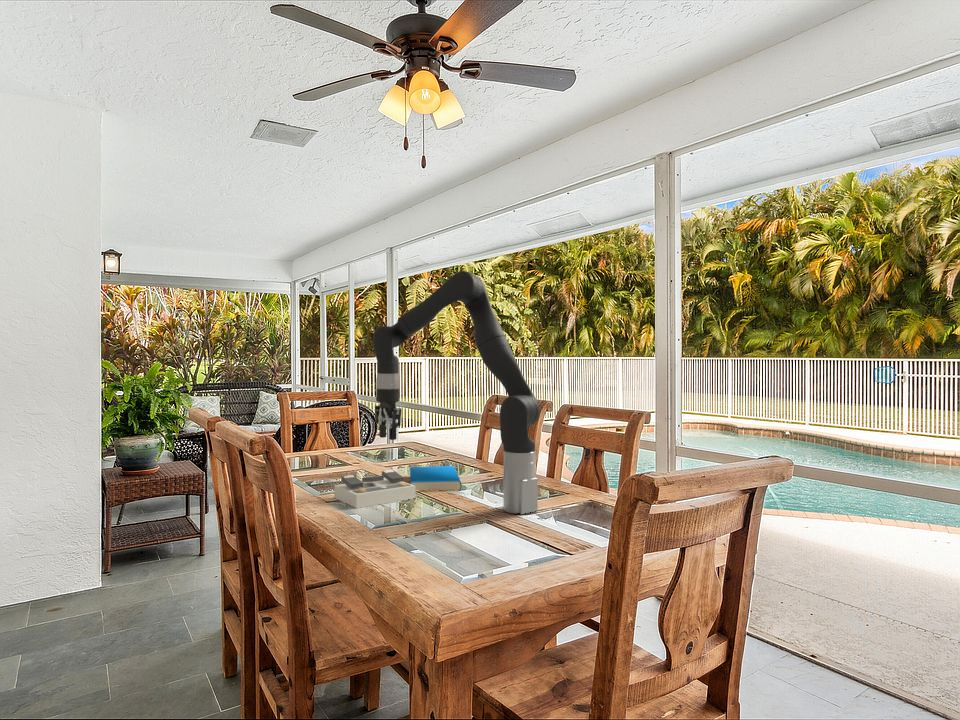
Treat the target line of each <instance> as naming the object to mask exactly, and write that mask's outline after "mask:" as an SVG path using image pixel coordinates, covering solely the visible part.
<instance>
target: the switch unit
mask: <svg viewBox="0 0 960 720" xmlns="http://www.w3.org/2000/svg"><path fill="white" fill-rule="evenodd" d="M383 478H384V477H383ZM333 486H334V495H333V496H334V499H336V500H338V501H340V502H342V503H344V504H346V503H347V504H346V505H348V504H349V506H350V505H351V507H352V508H354V509H361V508H360V507H362V508H365V506H368V507H373V505H374V506H379V505H378V504H380V505H386V504H390V503H397V501H398V502H403V500H404V501H409V500H408V499H410V500H414V499H413V498H417V497H416V492H417V491H416V486H415V485H412V484H411V483H408V482H405V481H403V482H396V483H391V482H390V481H388V480H387V479H386V478H384V480H381V481H374V482H363V487H361V488H354V489H350V488H349V487H348V486H347V485H346V484H344V483H342V484H340V483H339V484H335V485H333ZM385 503H386V504H385Z"/></svg>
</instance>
